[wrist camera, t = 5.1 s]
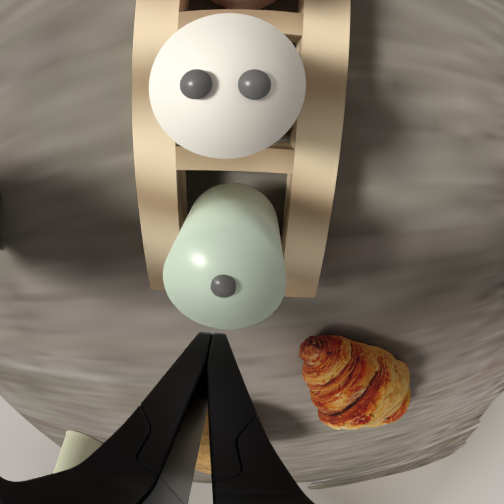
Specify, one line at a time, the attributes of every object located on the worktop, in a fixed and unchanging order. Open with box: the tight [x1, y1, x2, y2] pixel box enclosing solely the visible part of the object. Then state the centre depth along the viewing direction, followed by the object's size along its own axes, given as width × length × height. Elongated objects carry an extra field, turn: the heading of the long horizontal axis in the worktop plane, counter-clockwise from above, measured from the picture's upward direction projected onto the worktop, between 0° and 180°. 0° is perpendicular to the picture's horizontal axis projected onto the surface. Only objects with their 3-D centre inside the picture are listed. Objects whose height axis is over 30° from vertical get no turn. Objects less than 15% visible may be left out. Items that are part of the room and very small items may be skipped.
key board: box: [132, 0, 350, 298], centre depth 14 cm, size 25×11×2 cm, turn 178°
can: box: [53, 430, 102, 473], centre depth 37 cm, size 9×9×12 cm
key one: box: [163, 183, 286, 329], centre depth 14 cm, size 5×5×6 cm
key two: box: [149, 13, 306, 159], centre depth 10 cm, size 5×5×6 cm
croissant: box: [299, 335, 411, 430], centre depth 26 cm, size 21×10×8 cm
